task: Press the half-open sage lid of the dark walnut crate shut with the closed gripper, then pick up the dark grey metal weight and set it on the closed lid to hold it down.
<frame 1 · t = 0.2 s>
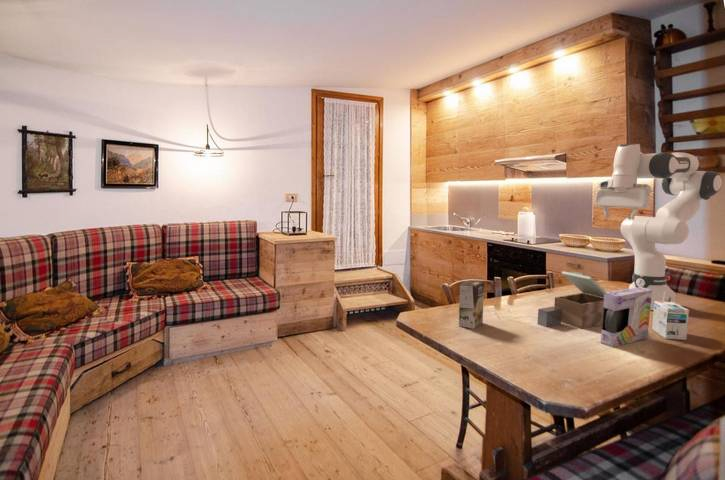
hand: (618, 218, 172), 39 cm above the table, tool pointing down, fingers open, 8 cm apart
coffee box: (470, 324, 163), on the table
cake pan box: (623, 342, 145), on the table
crate: (581, 321, 167), on the table
weight: (549, 324, 164), on the table
light bulb box: (668, 335, 152), on the table
lid: (586, 284, 166), point 14 cm above the table, hinge at 35.0°
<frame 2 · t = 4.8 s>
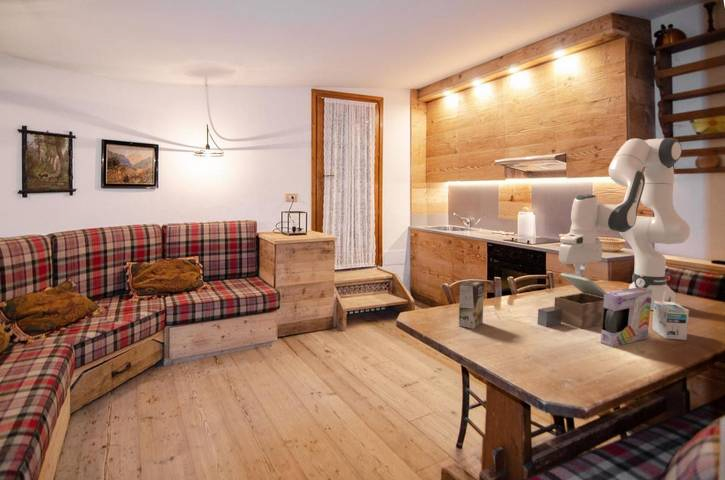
hand: (579, 274, 164), 19 cm above the table, tool pointing down, fingers closed
lid: (586, 285, 166), point 14 cm above the table, hinge at 32.1°, touching gripper
everything else where it was.
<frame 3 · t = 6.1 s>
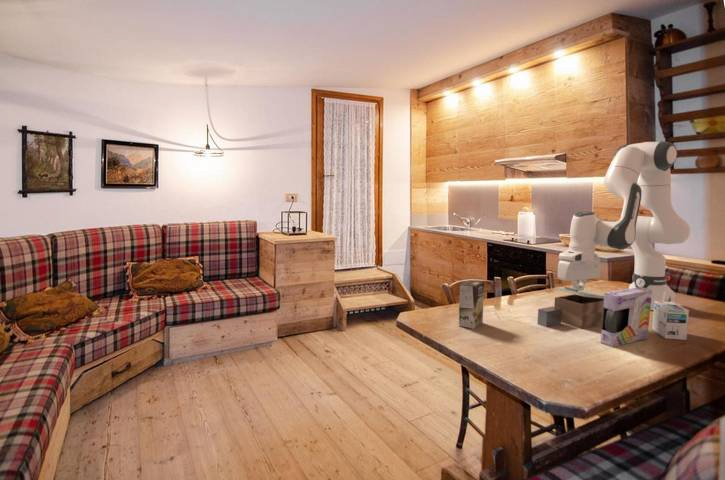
hand: (578, 290, 165), 12 cm above the table, tool pointing down, fingers closed
lid: (583, 292, 166), point 11 cm above the table, hinge at 10.7°, touching gripper
everything else where it was.
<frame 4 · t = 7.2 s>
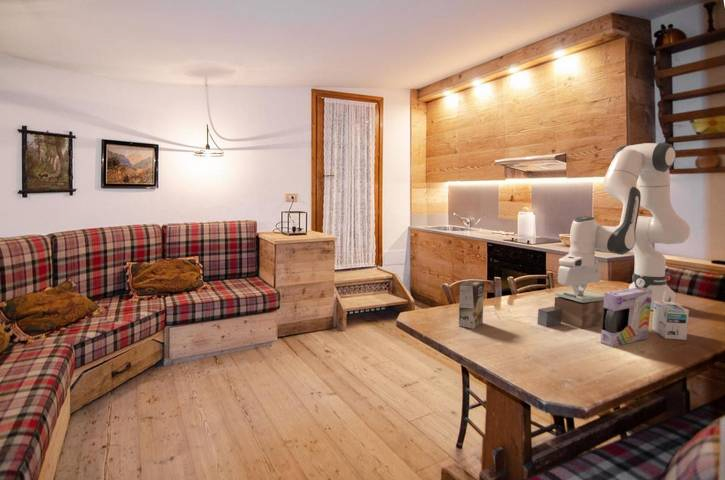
hand: (578, 295, 165), 11 cm above the table, tool pointing down, fingers closed, pressing on lid
lid: (582, 295, 166), point 10 cm above the table, hinge at 2.4°, touching gripper
everything else where it was.
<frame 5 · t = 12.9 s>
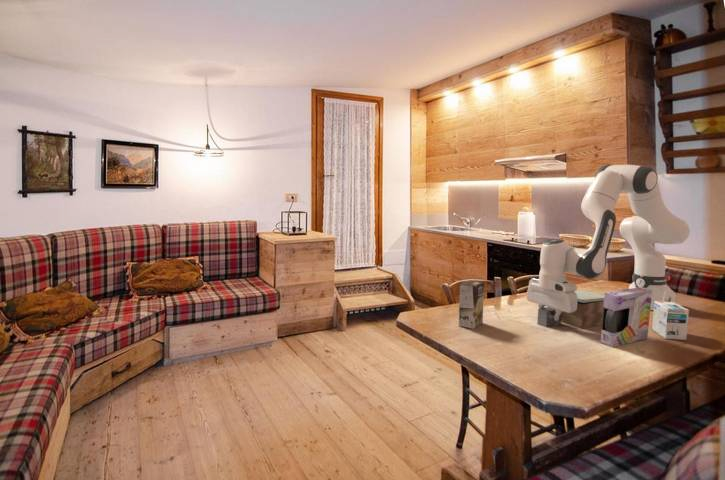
hand: (549, 318, 164), 2 cm above the table, tool pointing down, fingers closed on weight, 4 cm apart
weight: (549, 324, 164), on the table, touching gripper
lid: (582, 295, 166), point 10 cm above the table, hinge at 2.3°
everything else where it was.
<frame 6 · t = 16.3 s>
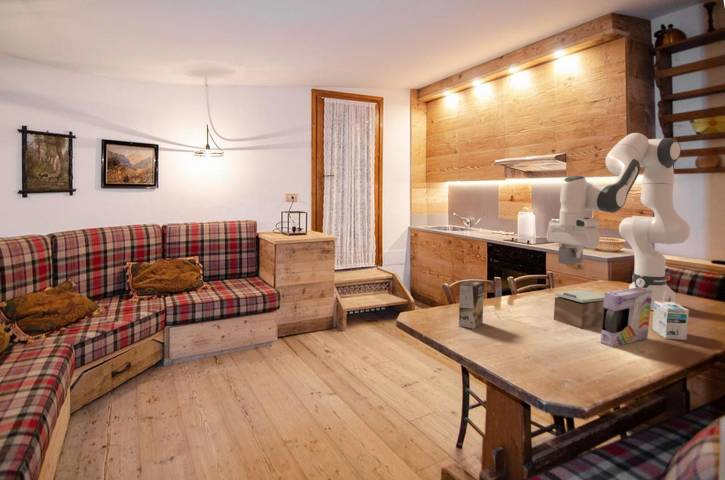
hand: (570, 256, 163), 26 cm above the table, tool pointing down, fingers closed on weight, 4 cm apart
weight: (570, 262, 163), point 23 cm above the table, touching gripper
everything else where it was.
when the fingers open (15 cm above the table, at t = 19.5 s): weight drops 2 cm, resting on lid.
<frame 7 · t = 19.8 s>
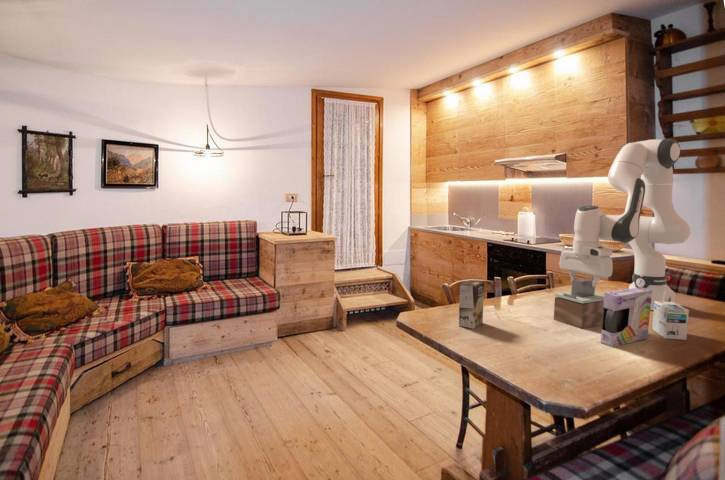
hand: (583, 284, 166), 15 cm above the table, tool pointing down, fingers open, 7 cm apart
weight: (582, 295, 166), point 10 cm above the table, touching lid
lid: (582, 295, 166), point 10 cm above the table, hinge at 1.3°, touching weight
everything else where it was.
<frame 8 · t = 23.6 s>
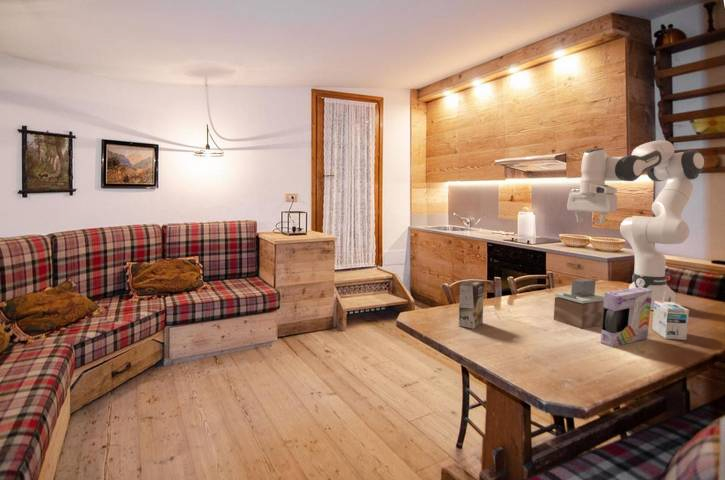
hand: (589, 222, 177), 37 cm above the table, tool pointing down, fingers open, 8 cm apart
nothing on the table moved.
at the end: lid at +1° (first picture: +35°); weight 0.0 cm off-centre on the crate, point 10.3 cm above the crate's base; weight tilted 1° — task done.
